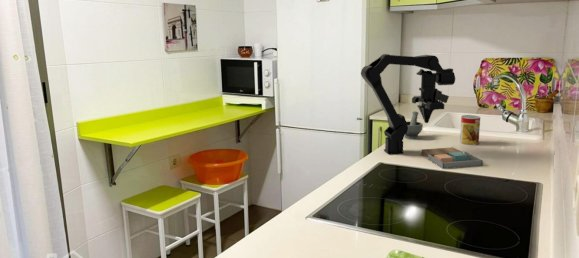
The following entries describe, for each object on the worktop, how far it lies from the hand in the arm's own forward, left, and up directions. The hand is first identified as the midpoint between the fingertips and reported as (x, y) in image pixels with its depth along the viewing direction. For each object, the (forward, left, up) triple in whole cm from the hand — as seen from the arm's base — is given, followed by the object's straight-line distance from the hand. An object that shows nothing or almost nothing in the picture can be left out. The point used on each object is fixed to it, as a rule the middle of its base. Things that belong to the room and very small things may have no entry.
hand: (426, 122), depth 189 cm
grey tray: (+3, -19, -12) cm, 23 cm away
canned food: (+24, +6, -12) cm, 28 cm away
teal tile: (+6, -16, -12) cm, 20 cm away
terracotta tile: (-1, -17, -12) cm, 21 cm away
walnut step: (+3, -9, -12) cm, 15 cm away
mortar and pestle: (+4, +22, -12) cm, 26 cm away
